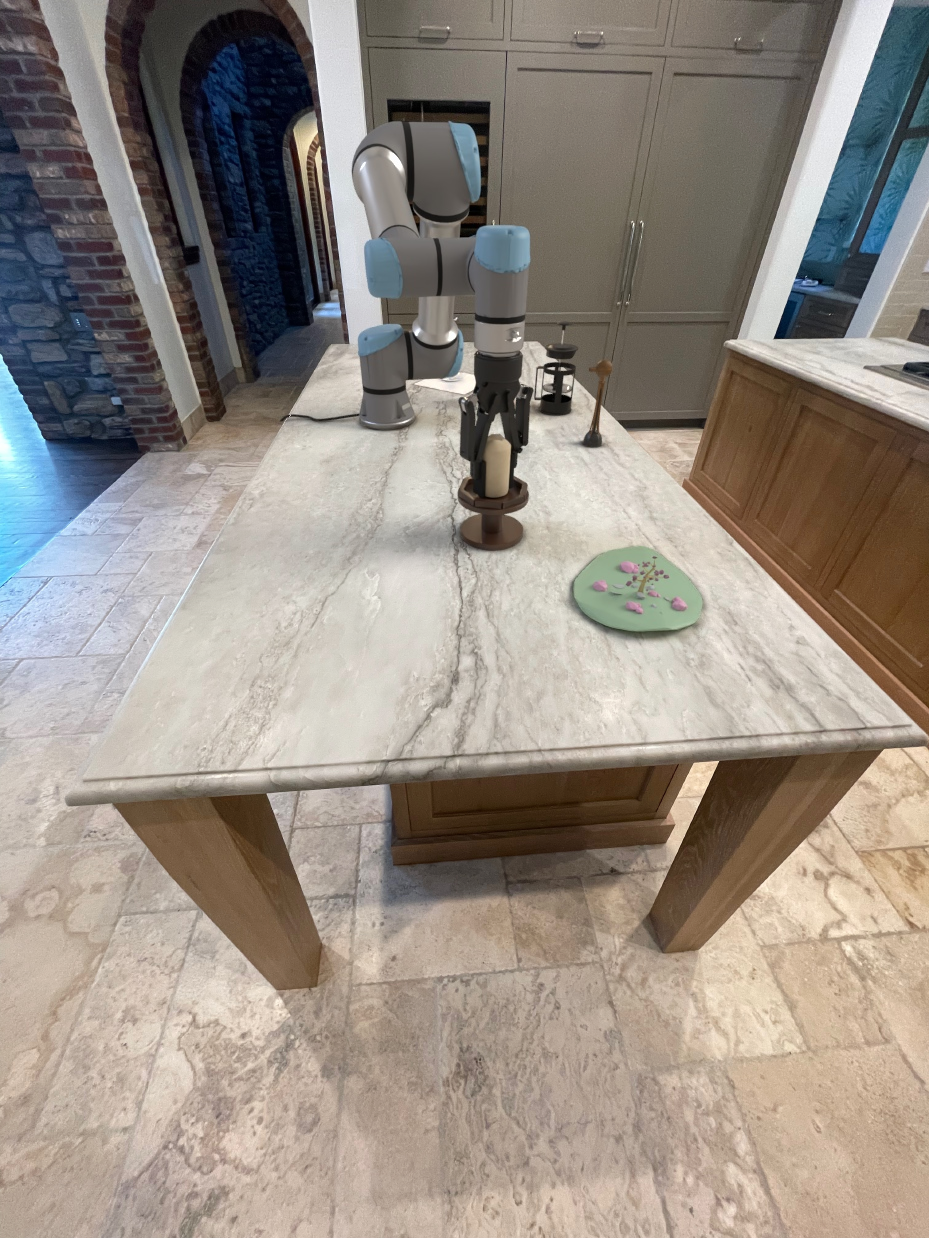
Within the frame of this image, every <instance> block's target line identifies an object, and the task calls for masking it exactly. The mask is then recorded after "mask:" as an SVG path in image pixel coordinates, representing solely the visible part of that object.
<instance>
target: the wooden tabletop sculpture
mask: <svg viewBox="0 0 929 1238" xmlns="http://www.w3.org/2000/svg"><path fill="white" fill-rule="evenodd" d="M613 367H614V366H613V364H612V362H611V360H609V359H601V360H600V361H598V362H597V364H596V366H589V367H588V372H589V373H595V374H596V375H597V377H599V378H600V380H599V381H598V387H597V392H596V400H595V404H594V411H593V416H592V419H591V423H590V427H589V430H588V431H587V432H586V433H585V435H584V437H583V440H582V445H584V446H585V447H588V448H599V447H602V444H603V436H602V434H601V432H600V421H601V420H600V419H601V411H602V410H601V409H602V403H603V398H604V397H603V396H604V390H605V384H606V381H605V378H607V377H609V376H610V375H611V373H612V371H613Z"/></svg>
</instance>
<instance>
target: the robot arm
mask: <svg viewBox="0 0 929 1238" xmlns="http://www.w3.org/2000/svg"><path fill="white" fill-rule="evenodd" d="M481 174H482V173H481V160H480V152H479V146H478V140H477V137H476V133H475V131H474V129H473V128H472V127H471V125H469V124H468V123H459V122H452V121H450V120H448V121H447V122H446V121H443V122H442V121H438V122H437V121H401V120H400V121H399V120H397V121H396V120H395V121H394V120H393V121H389V122H385V123H383V124H381V125H377V126H376V127H375V128H374V129H372V130H370V132H368V134H366V135H365V136H364V137H363V138H362V140H361V141H360V143H359V144H358V146H357V148H356V149H355V152H354V155H353V157H352V162H351V179H352V184H353V188H354V191H355V194H356V195H357V198H358V199H359V201H360V202H361V203H362V204H363V207H364V213H365V216H366V221H367V224H368V229H369V233H370V237H371V239H369V240H367V241H366V242H365V243H364V246H363V254H364V257H363V258H364V268H365V277H366V282H367V289H368V293H369V294H370V295H371V296H372V297H373V298H379V299H391V300H398V299H409V298H410V299H411V298H418V315H417V317H416V318H415V319H414V320H413V322H412V326H411V330H404V328H403V326H402V325H401V324H399V323H386V324H385V323H383V324H379V325H374V326H371V327H368V328H366V329H364V330H362V331H361V332H360V333H359V335H358V337H357V349H358V351H357V355H358V357H359V365H360V375H361V385H362V397H361V403H360V408H359V413H352V414H344V415H339V416H332V417H325V418H315V417H313V416H310V415H304V414H296V413H295V414H294V413H292V414H291V413H290V414H291V416H290V414H287V415H284V416H283V417H282V418H280V420H279V422H280V423H281V422H284V421H285V420H287V419H289V418H301V419H308V420H311V421H313V422H329V421H337V420H343V419H349V418H356V417H358V418H359V423H360V425H361V426H363V427H365V428H368V429H371V430H378V431H390V430H391V431H392V430H399V429H403V428H407V427H408V426H410V425H412V424H413V423H414V422H415V419H416V415H415V410H414V407H413V404H412V402H411V399H410V397H409V394H408V391H407V381H422V380H424V379H444V378H448V377H454V376H456V375H457V374H458V373H459V372H461V368H462V365H463V360H464V345H465V343H464V336H463V333H462V331H461V330H460V328H459V327H458V324H457V323H456V321H455V320H454V314H455V313H454V311H455V300H456V297H463V296H466V297H467V296H474V326H473V327H474V332H473V347H474V349H476V351H475V352H474V354H473V356H474V357H473V375H474V376H475V380H476V384H475V388H474V390H473V391H472V394H470V395H468V396H466V397H464V396H460V397H459V398H458V400H457V401H458V406H459V410H460V430H459V431H460V432H459V433H460V434H459V435H460V436H459V456H460V457H461V458H463V459H464V460H466V461H467V462H469V476H471V477H472V478H473V492H474V493H475V494H477V495H478V496H480V497H481V498H483V497H485V484H486V461H484V460H482V459H483V455H484V451H485V447H486V443H487V439H488V436H490V430H491V427H492V423H494V421H495V419H496V415H498V414H499V416H500V422H501V426H502V431H503V437H504V438H505V439H506V440H507V441H508V442H509V443H510V444H511V454H510V471H509V487H508V488H509V489H511V488H513V479H514V476H515V469H517V466H518V456H519V454H521V453H522V452H523V451H524V448H523V447H526V446H528V444H529V435H530V434H529V433H530V413H531V401H532V398H533V396H534V391H535V389H534V387H532V386H529V385H527V384H525V383H520V379H521V377H522V374H523V362H524V361H523V358H524V354H523V353H522V350H523V348H524V344H525V343H524V342H525V327H526V314H527V313H526V312H527V300H528V285H529V273H530V272H529V271H530V264H531V259H532V257H531V234H530V231H529V229H528V228H527V227H525V226H522V225H511V224H492V225H491V224H490V225H489V224H488V225H483V226H480V227H479V228H478V229H477V230H476V234H474V235H472V236H469V237H460V235H461V222H463V221H464V220H465V219H466V218H467V217H468V215H469V212H470V204H471V203H472V204H474V203H475V202H478V201H479V199H480V196H481V190H482V189H481V187H482V183H481V182H482V179H481V178H482V176H481ZM410 203H412V208H413V211H414V213H415V214H416V215H417V216H418V217H419V230H418V227H417V224H416V222H415V221H416V220H415V218H414V214H413V212H412V209H411V206H410ZM477 404H478V405H477ZM289 416H290V417H289Z"/></svg>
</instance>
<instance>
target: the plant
mask: <svg viewBox="0 0 929 1238" xmlns="http://www.w3.org/2000/svg"><path fill="white" fill-rule="evenodd" d="M572 587H573V588H572V589H573V598H574V600H575V602H576V603H577V605H578V607H579V608H580V610H581V611H582V612H583V613H584V615H586V616H587V617H588V618H590V619H591V620H593V621H595V622H596V623H599V624H601V625H604V626H606V627H609V628H612V629H618V630H621V631H622V630H624V631H629V632H659V631H678V630H681V629H684V628H687V627H690V626H692V625H694V624H696V622H698V620H699V618H700V616H701V614H702V613H701V612H702V609H703V605H704V604H703V597H702V595H701V594H700V592H699V590H698V588H696V586H695V585H694V584H693V582H692V581H691V580H690V578H689V577H688V576H687V574H685V573H684V572H683V571H682V570H681V569H680V568H679V567H677V566H676V565H674V564H673V563H672V562H670V561H669V560H668V559H667V558H666V557H664V556H663V555H662V554H660V553H659V552H658V551H656V550H655V549H653V548H650V547H647V546H643V545H637V546H636V545H635V546H628V547H621V548H616V549H611V550H608V551H605V552H602V553H600V554H599V555H597V556H596V557H595V558H594V559H593V560H592V561H590V563H589V564H588V565H586V567H584V568H583V570H582V571H580V573H579V574H578V575H577V576H576V577H575V580H574V582H573V586H572Z"/></svg>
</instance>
